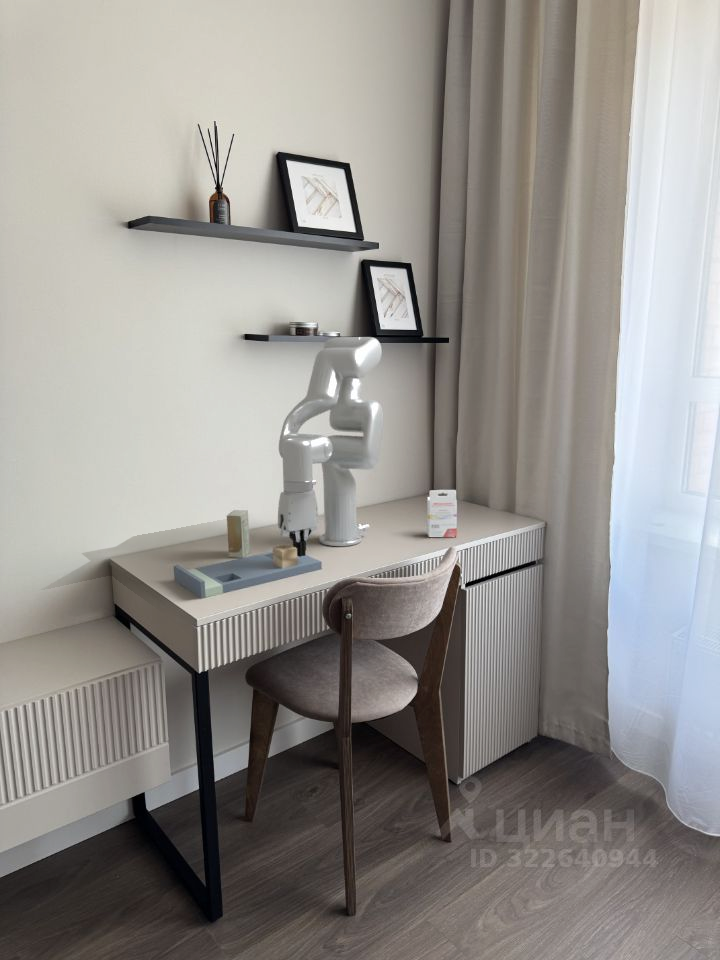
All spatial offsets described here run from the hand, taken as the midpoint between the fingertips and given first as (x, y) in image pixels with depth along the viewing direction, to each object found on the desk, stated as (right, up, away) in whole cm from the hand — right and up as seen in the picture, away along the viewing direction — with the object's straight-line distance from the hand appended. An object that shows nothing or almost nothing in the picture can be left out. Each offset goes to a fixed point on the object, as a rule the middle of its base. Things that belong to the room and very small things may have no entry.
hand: (299, 554), depth 187 cm
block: (-4, -2, -2) cm, 5 cm away
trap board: (-13, -5, -3) cm, 14 cm away
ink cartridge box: (+41, +2, +30) cm, 50 cm away
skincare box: (-18, -2, +13) cm, 23 cm away
